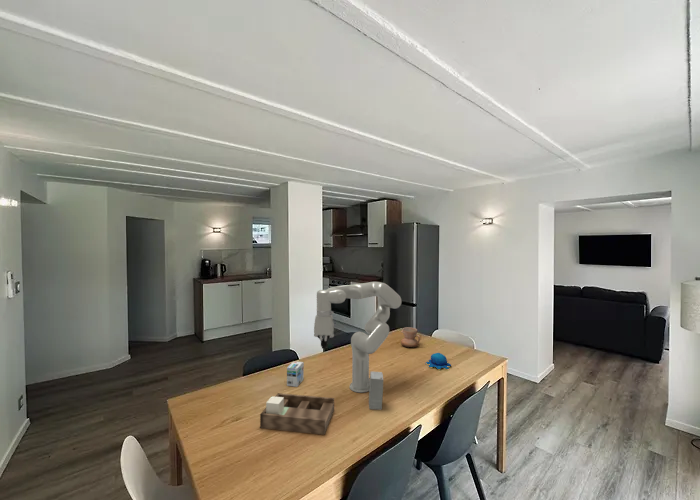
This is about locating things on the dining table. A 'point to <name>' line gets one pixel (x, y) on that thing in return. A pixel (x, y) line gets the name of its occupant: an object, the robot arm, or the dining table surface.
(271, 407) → the cream block
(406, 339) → the ceramic jug
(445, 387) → the dining table surface
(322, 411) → the box
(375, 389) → the skincare box
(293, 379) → the light bulb box
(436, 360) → the plush toy
